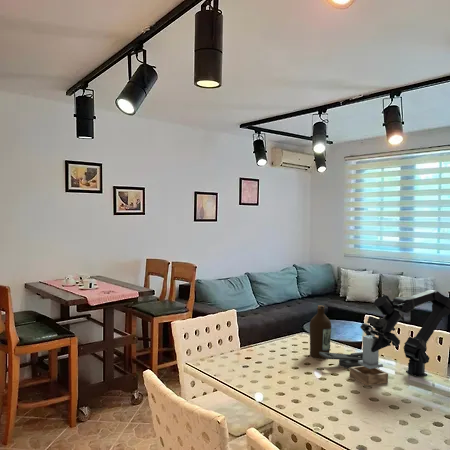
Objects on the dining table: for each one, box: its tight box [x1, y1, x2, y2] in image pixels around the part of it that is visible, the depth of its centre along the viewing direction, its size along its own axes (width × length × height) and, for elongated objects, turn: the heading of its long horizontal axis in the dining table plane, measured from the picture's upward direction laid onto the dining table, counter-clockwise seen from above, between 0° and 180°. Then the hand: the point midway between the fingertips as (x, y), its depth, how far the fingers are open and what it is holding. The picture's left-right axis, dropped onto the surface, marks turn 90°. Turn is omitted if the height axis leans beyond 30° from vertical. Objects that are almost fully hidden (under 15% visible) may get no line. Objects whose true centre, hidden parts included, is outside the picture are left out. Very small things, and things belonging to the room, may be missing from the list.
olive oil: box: [309, 304, 332, 360], centre depth 210 cm, size 11×11×25 cm
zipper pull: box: [319, 351, 363, 369], centre depth 196 cm, size 9×7×25 cm
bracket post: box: [358, 335, 384, 369], centre depth 179 cm, size 7×7×12 cm
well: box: [349, 366, 389, 386], centre depth 180 cm, size 11×11×4 cm
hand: (368, 349), depth 178 cm, fingers closed on bracket post, 4 cm apart
